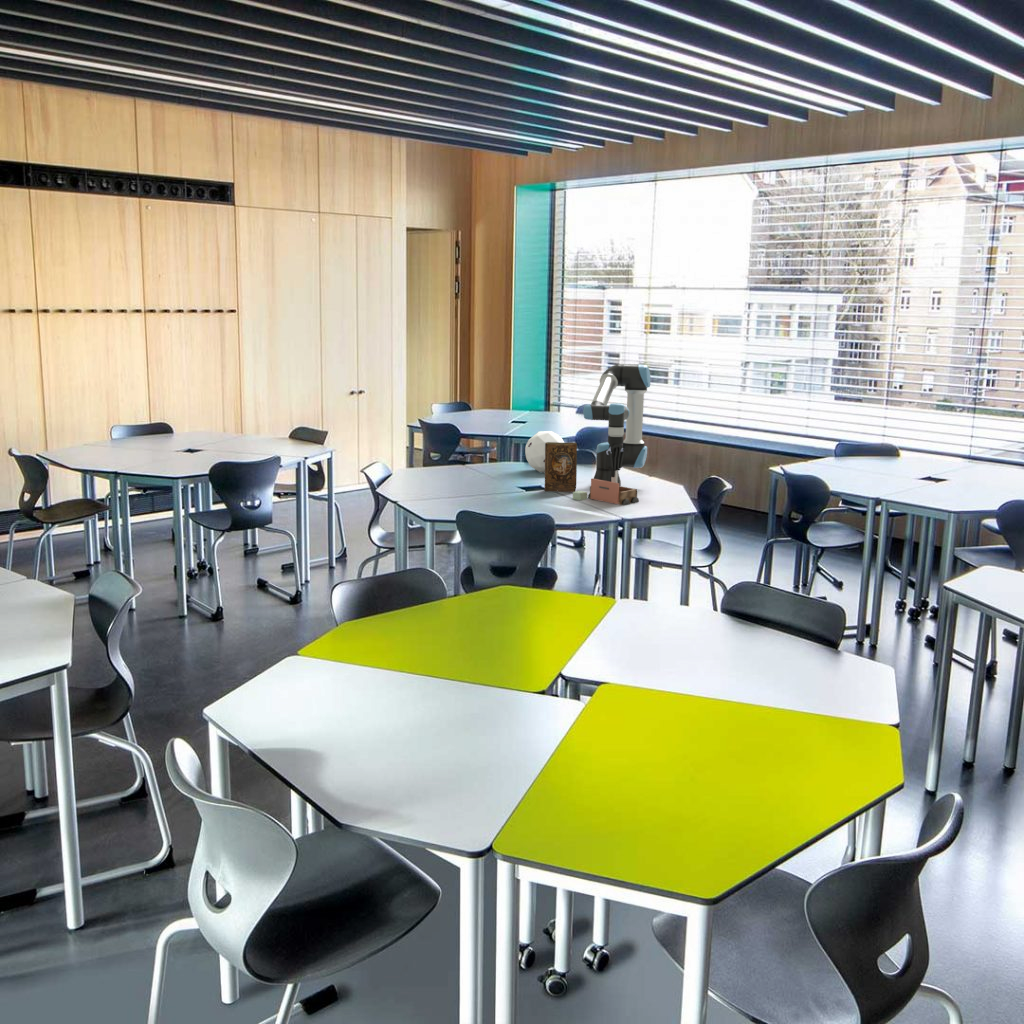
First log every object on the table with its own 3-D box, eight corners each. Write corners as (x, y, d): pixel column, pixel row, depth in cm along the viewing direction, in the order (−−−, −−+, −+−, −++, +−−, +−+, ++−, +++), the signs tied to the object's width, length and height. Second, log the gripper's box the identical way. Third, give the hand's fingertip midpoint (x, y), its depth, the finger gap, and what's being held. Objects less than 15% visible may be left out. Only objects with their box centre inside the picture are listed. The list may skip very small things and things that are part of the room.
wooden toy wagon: (603, 497, 498) (603, 483, 497) (639, 504, 482) (639, 489, 480) (587, 501, 490) (587, 486, 488) (623, 508, 474) (624, 492, 472)
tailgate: (591, 498, 487) (592, 478, 485) (618, 503, 476) (619, 483, 473) (590, 498, 487) (590, 478, 484) (616, 504, 475) (617, 483, 473)
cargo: (579, 500, 492) (579, 490, 491) (587, 502, 488) (587, 492, 487) (572, 501, 488) (572, 492, 487) (580, 503, 485) (580, 493, 484)
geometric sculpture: (543, 466, 588) (568, 434, 581) (555, 488, 568) (581, 455, 561) (511, 448, 576) (536, 415, 568) (522, 469, 556) (548, 436, 548)
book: (544, 491, 513) (544, 443, 508) (544, 489, 518) (545, 442, 513) (575, 492, 511) (576, 444, 506) (576, 490, 517) (577, 442, 511)
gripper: (618, 433, 486) (616, 480, 491) (601, 435, 477) (599, 483, 482) (630, 435, 481) (628, 482, 486) (613, 437, 472) (611, 486, 477)
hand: (614, 483), depth 484 cm, fingers closed
